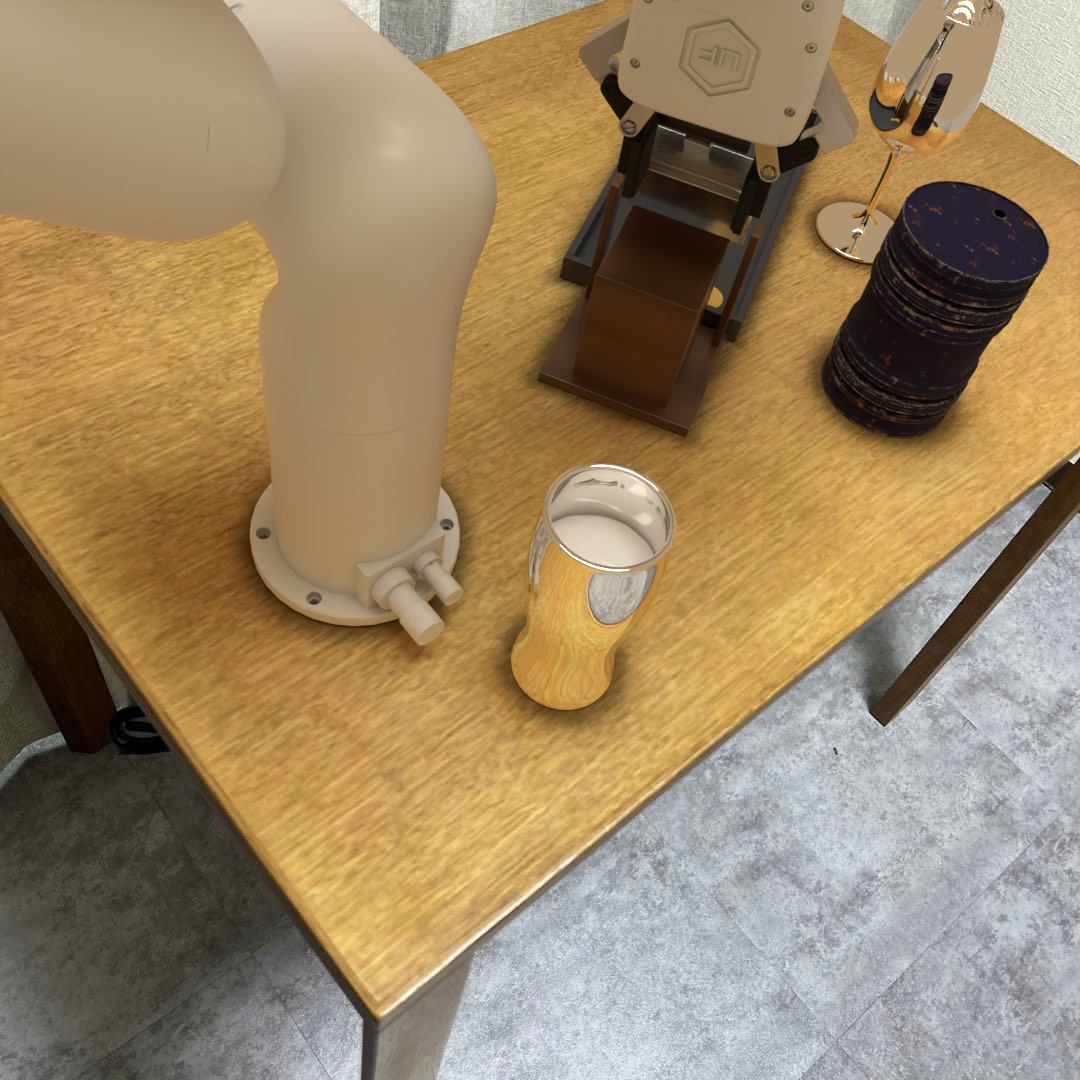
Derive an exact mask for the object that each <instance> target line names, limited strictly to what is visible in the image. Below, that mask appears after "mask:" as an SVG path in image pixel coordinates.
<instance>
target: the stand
mask: <svg viewBox="0 0 1080 1080" xmlns="http://www.w3.org/2000/svg"><path fill="white" fill-rule="evenodd" d="M622 189H623V181H622V176H621V173H617V174H616V176H615V178H614V180H613V181H612V183H611V185H610V190H609V194H608V198H607V202H606V207H605V211H604V215H603V220H602V224H601V228H600V232H599V237H598V241H597V245H596V250H595V254H594V258H593V262H592V267H591V271H590V275H589V279H588V284H587V286H584V287H585V288H584V289H583V290H582V293H581V294H580V296H579V298H578V301H577V302H576V304H575V306H574V308H573V310H572V312H571V313H570V315H569V317H568V318H567V321H566V322H565V324H564V326H563V328H562V330H561V332H560V333H559V335H558V337H557V339H556V341H555V342H554V344H553V346H552V348H551V350H550V352H549V354H548V355H547V357H546V359H545V361H544V363H543V365H542V366H541V368H540V370H539V373H538V378H537V379H538V381H540V382H543V383H546V384H548V385H550V386H554V387H556V388H559V389H561V390H564V391H567V392H569V393H572V394H574V395H577V396H579V397H582V398H585V399H587V400H590V401H592V402H595V403H598V404H600V405H603V406H606V407H608V408H611V409H613V410H617V411H619V412H622V413H624V414H627V415H629V416H632V417H634V418H637V419H640V420H642V421H646V422H648V423H650V424H653V425H655V426H658V427H660V428H663V429H667V430H668V431H671V432H674V433H677V434H679V435H682V436H684V437H687V436H688V434H689V431H690V429H691V426H692V425H693V422H694V420H695V417H696V414H697V412H698V409H699V407H700V404H701V402H702V400H703V397H704V395H705V392H706V389H707V387H708V385H709V382H710V379H711V377H712V374H713V372H714V370H715V367H716V365H717V363H718V360H719V357H720V355H721V352H722V350H723V347H724V345H725V342H726V340H727V339H726V338H727V334H725V333H724V331H725V329H726V326H727V324H728V321H729V318H730V316H731V313H732V311H733V308H734V305H735V303H736V300H737V298H738V295H739V292H740V290H741V287H742V285H743V282H744V279H745V277H746V274H747V272H748V269H749V266H750V264H751V261H752V259H753V256H754V253H755V251H756V248H757V246H758V243H759V240H760V238H761V235H762V233H763V230H764V227H765V225H764V224H762V223H759V222H757V223H756V225H755V228H754V230H753V233H752V235H751V238H750V240H749V243H748V246H747V248H746V251H745V254H744V256H743V259H742V262H741V264H740V267H739V270H738V272H737V275H736V278H735V280H734V283H733V286H732V288H731V291H730V294H729V296H728V299H727V302H726V304H725V307H724V310H723V312H722V315H721V318H720V320H719V323H718V326H717V328H716V330H715V329H712V328H709V327H707V326H704V325H701V321H702V318H703V316H704V313H705V310H706V307H707V304H708V302H709V299H710V296H711V293H712V290H713V288H714V285H715V282H716V279H717V276H718V274H719V271H720V268H721V265H722V262H723V260H724V257H725V254H726V251H727V248H728V246H729V243H730V239H727V238H725V237H722V236H719V235H716V234H714V233H711V232H708V231H705V230H703V229H700V228H697V227H694V226H692V225H689V224H686V223H683V222H681V221H678V220H675V219H672V218H670V217H667V216H664V215H661V214H659V213H656V212H653V211H650V210H648V209H645V208H642V207H639V206H636V205H633V207H632V208H631V210H630V212H629V214H628V216H627V218H626V219H625V221H624V223H623V225H622V227H621V229H620V231H619V232H618V234H617V236H616V238H615V240H614V242H613V243H612V245H611V247H610V249H609V251H608V253H607V250H608V246H609V242H610V238H611V234H612V230H613V225H614V221H615V217H616V213H617V209H618V205H619V201H620V197H621V193H622ZM606 254H607V255H606Z"/></svg>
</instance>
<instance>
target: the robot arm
mask: <svg viewBox="0 0 1080 1080" xmlns="http://www.w3.org/2000/svg"><path fill="white" fill-rule="evenodd" d="M845 3H846V0H634V1H633V4H632V8H631V9H630V10H629V11H626V12H625V13H624V14H622V15H620V16H618V17H617V18H615V19H613V20H611V21H610V22H608V23H607V24H605V25H603V26H602V27H600V28H599V29H597V30H595V31H593V32H592V33H590V34H588V36H587V37H586V38H585V40H584V41H583V43H582V44H581V46H580V48H579V49H578V57H579V59H580V60H581V62H582V64H583V65H584V66H585V67H586V69H587V71H588V72H589V74H590V75H591V76H592V78H593V80H594V81H595V82H597V83H598V84H599V86H600V88H599V90H600V93H601V95H602V96H603V98H604V99H605V101H606V103H607V104H608V105H609V107H610V108H611V110H612V111H613V113H614V114H615V116H616V117H617V119H618V120H619V122H618V130H619V132H620V133H621V134H622V135H623V137H622V144H621V148H620V150H621V153H620V152H619V153H620V158H619V162H617V164H618V168H617V172H618V173H621V174H624V175H625V180H624V185H623V190H622V197H625V198H628V199H630V198H631V197H632V198H634V197H635V195H636V193H637V191H638V189H639V187H640V185H641V183H642V181H643V179H644V177H645V175H646V173H647V171H648V168H649V163H650V159H651V154H652V150H653V145H654V141H655V136H656V132H657V128H658V123H659V118H657V113H658V112H659V113H662V114H665V115H668V116H671V117H674V118H677V119H680V120H683V121H686V122H689V123H692V124H695V125H699V126H702V127H705V128H708V129H711V130H714V131H717V132H720V133H724V134H727V135H730V136H733V137H736V138H739V139H743V140H746V141H749V142H753V143H754V146H755V154H756V155H755V157H754V160H753V162H752V164H751V167H750V169H749V171H748V174H747V176H746V179H745V182H744V185H743V188H742V191H741V194H740V197H739V201H738V204H737V207H736V210H735V213H734V217H733V220H732V223H731V226H730V229H729V230H732V233H733V234H736V235H739V236H740V235H741V233H742V230H743V228H744V225H745V223H746V221H747V218H748V216H752V217H755V218H758V219H760V216H761V214H762V211H763V208H764V206H765V203H766V200H767V197H768V194H769V191H770V189H771V186H772V183H773V182H774V181H776V180H777V179H778V178H779V175H780V174H782V173H784V172H787V171H789V170H792V169H794V168H796V167H799V166H801V165H804V164H805V165H806V164H808V163H811V162H812V161H814V160H815V159H816V158H817V157H818V156H821V155H823V154H824V155H826V154H829V153H831V152H834V151H837V150H838V149H841V148H843V147H846V146H848V145H851V144H852V143H853V142H854V141H855V139H856V136H857V133H858V130H859V127H860V120H859V118H858V116H857V115H856V113H855V111H854V109H853V106H852V105H851V102H850V101H849V99H848V97H847V95H846V93H845V90H844V89H843V88H842V86H841V83H840V81H839V80H838V78H837V76H836V74H835V72H834V70H833V68H832V66H831V63H830V57H831V54H832V51H833V47H834V44H835V41H836V37H837V34H838V30H839V27H840V23H841V19H842V16H843V15H842V14H843V11H844V8H845ZM620 51H621V55H620V59H619V57H618V55H617V54H618V53H619V52H620ZM812 108H813V109H816V111H817V113H818V114H819V116H820V118H821V120H822V122H821V123H819V124H818V125H817V126H807V127H805V128H804V126H805V124H806V122H807V120H808V117H809V115H810V113H811V110H812ZM788 109H789V110H790V112H789V110H788ZM655 111H656V112H655ZM788 112H789V113H788ZM497 203H498V184H497V178H496V172H495V168H494V165H493V161H492V159H491V156H490V154H489V152H488V149H487V147H486V145H485V143H484V141H483V139H482V138H481V136H480V135H479V133H478V131H477V130H476V128H475V127H474V126H473V124H472V123H471V121H470V120H469V118H468V117H467V116H466V115H465V114H464V112H463V111H462V110H461V109H460V108H459V106H458V105H457V104H456V103H455V101H454V100H453V99H452V98H450V96H449V95H448V94H447V93H446V92H445V91H444V90H443V89H442V88H441V87H440V86H439V85H438V84H437V83H436V82H435V81H434V80H432V79H431V77H429V76H428V75H427V74H426V73H424V71H423V70H421V68H419V67H418V65H416V64H415V63H414V62H413V61H411V60H410V59H409V58H408V57H407V56H406V55H404V53H402V51H400V50H399V49H398V48H397V47H396V46H395V45H393V44H392V43H391V41H389V40H388V39H387V38H385V37H384V36H383V35H382V34H381V33H380V32H378V31H375V30H374V29H373V28H372V26H370V25H369V24H368V23H367V22H366V21H364V20H363V19H362V18H361V17H360V16H359V15H358V14H356V13H355V12H354V11H353V9H351V8H350V7H349V6H348V5H346V3H344V2H343V1H342V0H0V216H6V217H12V218H17V219H20V220H21V219H22V220H27V221H32V222H38V223H41V224H42V223H43V224H48V225H53V226H58V227H65V228H69V229H74V230H80V231H85V232H91V233H96V234H101V235H105V236H106V235H107V236H111V237H115V238H116V237H117V238H121V239H127V240H133V241H141V242H158V243H159V242H161V243H163V242H165V243H166V242H167V243H181V242H189V241H196V240H197V241H198V240H203V239H206V238H207V239H208V238H211V237H215V236H217V235H220V234H224V233H226V232H229V231H231V230H233V229H234V228H236V227H239V226H240V225H242V224H243V223H245V222H246V221H247V222H248V223H249V224H250V225H251V227H252V228H253V229H254V230H255V232H256V233H257V234H258V235H259V237H260V238H261V239H262V241H263V243H264V244H265V246H266V248H267V249H268V251H269V253H270V254H271V256H272V258H273V261H274V263H275V267H276V271H277V283H275V285H273V287H272V288H271V289H270V290H269V292H268V293H267V295H266V296H265V299H264V301H263V303H262V305H261V309H260V315H259V322H258V349H259V359H260V372H261V376H262V387H263V399H264V409H265V420H266V432H267V444H268V451H269V452H268V454H269V455H268V456H269V465H270V477H271V482H270V484H269V485H268V486H267V487H266V488H265V489H264V491H263V492H262V494H261V495H260V497H259V499H258V500H257V503H256V504H255V506H254V510H253V512H252V516H251V520H250V527H249V542H250V550H251V556H252V559H253V562H254V565H255V568H256V571H257V573H258V575H259V576H260V578H261V580H262V581H263V583H264V584H265V586H266V588H268V589H269V590H270V591H271V592H272V593H273V595H274V596H275V597H276V598H277V599H278V600H280V601H281V602H282V603H284V604H285V605H286V606H287V607H289V608H291V609H292V610H294V611H295V612H298V613H300V614H302V615H304V616H306V617H308V618H310V619H312V620H316V621H319V622H323V623H327V624H331V625H338V626H349V627H360V626H375V625H379V624H384V623H387V622H388V623H389V622H391V621H395V620H399V624H400V625H401V626H402V627H403V629H404V630H405V632H406V633H408V635H409V636H410V637H411V639H413V641H414V642H415V643H416V645H418V646H420V647H421V646H426V645H428V644H429V643H431V642H433V641H434V640H436V639H437V638H438V637H439V636H440V635H441V633H442V632H443V631H444V629H445V627H446V625H445V621H443V619H442V618H441V616H440V615H438V613H437V612H436V611H435V610H434V609H433V607H432V606H431V604H430V603H429V602H430V601H431V600H432V599H433V598H434V597H435V596H437V598H438V599H439V600H440V601H441V603H443V605H444V606H445V607H450V606H452V605H454V604H455V603H457V602H458V601H459V600H460V599H461V598H462V597H463V595H464V593H465V592H464V589H463V587H462V586H461V585H460V584H459V583H458V582H457V580H456V579H455V578H454V576H452V573H453V571H454V567H455V565H456V563H457V561H458V554H459V549H460V539H461V536H460V535H461V533H460V532H461V527H460V522H459V517H458V512H457V511H456V508H455V505H454V504H453V502H452V499H451V498H450V496H449V495H448V493H447V492H446V490H445V489H444V488H443V487H442V485H441V484H442V476H443V467H444V466H443V465H444V459H445V458H444V457H445V450H446V441H447V432H448V424H449V423H448V422H449V414H450V405H451V397H452V388H453V378H454V372H455V371H454V368H455V367H454V365H455V357H456V349H457V342H458V336H459V329H460V323H461V319H462V313H463V308H464V305H465V302H466V301H465V300H466V297H467V294H468V290H469V287H470V284H471V282H472V279H473V276H474V273H475V270H476V268H477V266H478V263H479V260H480V258H481V255H482V253H483V251H484V248H485V246H486V244H487V241H488V238H489V235H490V232H491V230H492V227H493V224H494V218H495V215H496V211H497Z"/></svg>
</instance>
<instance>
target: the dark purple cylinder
mask: <svg viewBox="0 0 1080 1080" xmlns="http://www.w3.org/2000/svg"><path fill="white" fill-rule="evenodd" d="M893 222H894V224H893V225H892V226H891V228H890V229H889V231H888V233H887V235H886V237H885V239H884V241H883V243H882V245H881V247H880V250H879V252H878V253H877V254H876V256H875V259H874V261H873V263H872V266H871V268H870V275H869V276H870V277H869V279H868V281H867V283H866V285H865V287H864V289H863V291H862V293H861V295H860V297H859V299H858V300H856V301H855V302H854V304H853V305H852V306H851V308H850V309H849V311H848V313H847V315H846V317H845V319H844V320H843V321H842V323H841V324H840V326H839V329H838V330H837V332H836V334H835V336H834V338H833V341H832V345H831V348H830V350H829V353H828V354H827V356H826V357H825V359H824V361H823V364H822V367H821V373H820V375H821V376H820V377H821V379H820V380H821V384H822V388H823V390H824V392H825V395H826V397H827V398H828V400H829V401H830V403H831V404H832V405H833V407H834V408H835V409H836V410H837V411H838V412H839V413H840V414H841V415H842V416H843V417H844V418H846V419H847V420H848V421H850V422H851V423H853V424H854V425H856V426H857V427H859V428H861V429H863V430H866V431H868V432H870V433H873V434H876V435H879V436H883V437H887V438H891V439H892V438H893V439H914V438H917V437H922V436H925V435H927V434H929V433H931V432H932V431H934V430H935V429H936V428H938V426H940V424H941V423H942V422H943V420H944V419H945V416H946V415H947V413H948V412H949V410H950V409H951V408H952V407H953V405H954V404H956V402H957V401H958V400H959V398H960V397H961V396H962V395H963V393H964V391H965V389H967V386H968V384H969V381H970V379H971V378H972V377H973V375H974V374H975V371H976V370H977V368H978V366H979V363H980V358H981V356H983V354H984V352H985V350H986V349H987V348H988V346H989V344H990V343H991V342H992V340H993V338H995V337H996V336H998V335H999V334H1000V333H1001V332H1002V331H1003V330H1004V329H1005V328H1006V327H1007V326H1008V325H1009V323H1010V322H1011V321H1012V319H1013V316H1014V314H1015V313H1017V311H1018V310H1019V308H1020V307H1021V305H1022V304H1023V302H1024V301H1025V299H1026V298H1027V297H1028V294H1029V292H1030V289H1031V288H1032V286H1033V285H1034V283H1035V282H1036V279H1037V278H1038V277H1039V276H1040V274H1041V273H1042V272H1043V270H1044V268H1045V267H1046V265H1047V263H1048V261H1049V258H1050V244H1049V240H1048V237H1047V235H1046V233H1045V231H1044V230H1043V228H1042V226H1041V225H1040V223H1038V221H1037V220H1036V219H1035V218H1034V216H1032V215H1031V213H1029V212H1028V211H1027V210H1026V209H1025V208H1024V207H1022V206H1021V205H1020V204H1018V203H1017V202H1016V201H1014V200H1013V199H1010V198H1009V197H1007V196H1005V195H1003V194H1001V193H999V192H997V191H995V190H993V189H990V188H988V187H985V186H982V185H979V184H975V183H970V182H966V181H957V180H938V181H931V182H928V183H924V184H922V185H920V186H918V187H915V188H914V189H913V190H912V191H911V192H910V193H909V194H908V195H907V196H906V198H905V200H904V202H903V204H902V205H901V208H900V210H899V213H898V214H897V216H896V218H895V219H894V221H893Z"/></svg>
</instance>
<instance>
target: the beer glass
mask: <svg viewBox="0 0 1080 1080" xmlns="http://www.w3.org/2000/svg"><path fill="white" fill-rule="evenodd" d="M677 530H678V521H677V514H676V511H675V508H674V504H673V503H672V501H671V499H670V498H669V496H668V494H667V493H666V492H665V491H664V490H663V488H662V487H661V486H660V485H659V484H658V483H656V482H655V480H653V479H652V478H651V477H650V476H648V475H646V474H644V473H643V472H640V471H638V470H637V469H635V468H632V467H630V466H627V465H623V464H619V463H614V462H604V461H602V462H600V461H599V462H596V461H595V462H589V463H584V464H580V465H577V466H574V467H572V468H570V469H567V470H566V471H564V472H562V473H561V474H560V475H559V476H558V477H556V479H554V481H553V482H552V483H551V484H550V486H549V488H548V489H547V491H546V494H545V496H544V499H543V504H542V507H541V509H540V512H539V514H538V516H537V518H536V522H535V525H534V528H533V529H532V534H531V537H530V540H529V544H528V548H527V554H526V558H525V559H526V560H525V564H524V598H525V599H524V601H525V612H526V615H525V616H526V620H525V621H526V622H525V625H523V628H522V629H521V630H520V632H519V634H518V635H517V637H516V639H515V641H514V642H513V646H512V649H511V654H510V664H511V671H512V674H513V677H514V680H515V681H516V683H517V685H518V686H519V688H520V689H521V690H522V691H523V692H524V694H526V696H528V697H529V698H530V699H531V700H533V701H535V702H536V703H538V704H539V705H542V706H544V707H547V708H549V709H554V710H558V711H559V710H560V711H572V710H573V711H574V710H580V709H582V708H586V707H588V706H590V705H591V704H593V703H595V702H597V700H599V699H600V698H601V697H602V696H603V695H604V694H605V693H606V691H607V690H608V688H609V687H610V684H611V683H612V682H611V681H612V679H613V675H614V670H615V653H616V652H617V650H618V649H619V647H620V646H621V645H622V644H623V643H624V641H625V640H626V639H627V638H628V637H629V635H630V634H631V633H632V632H633V631H634V630H635V629H636V627H637V626H638V625H639V624H640V622H641V620H642V619H643V618H644V616H645V615H646V613H647V612H648V611H649V609H650V607H651V605H652V604H653V602H654V599H655V598H656V596H657V593H658V591H659V589H660V587H661V583H662V581H663V578H664V575H665V573H666V570H667V566H668V562H669V558H670V555H671V552H672V551H671V550H672V547H673V545H674V543H675V540H676V535H677Z"/></svg>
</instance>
